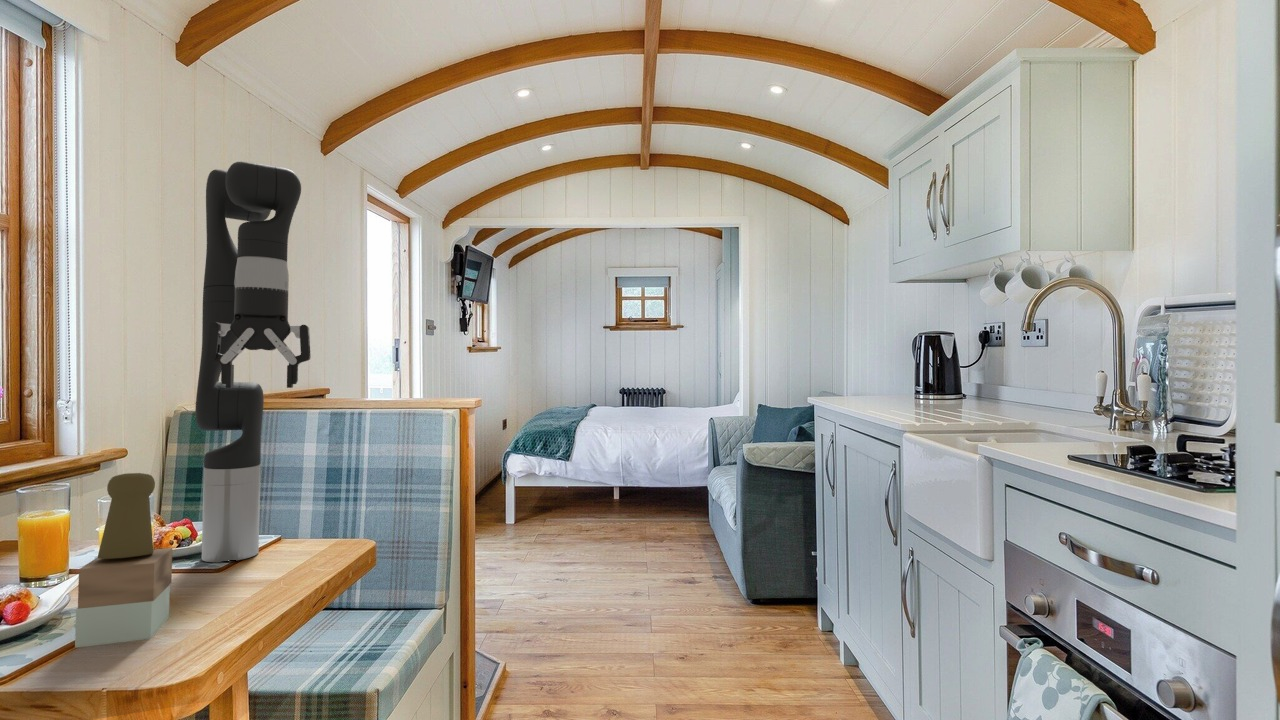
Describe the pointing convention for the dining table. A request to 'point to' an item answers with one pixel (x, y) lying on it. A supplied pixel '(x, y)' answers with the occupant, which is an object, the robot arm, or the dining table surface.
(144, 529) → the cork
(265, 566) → the dining table surface
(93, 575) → the tower top block
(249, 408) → the robot arm
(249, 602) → the dining table surface
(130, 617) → the tower base block
